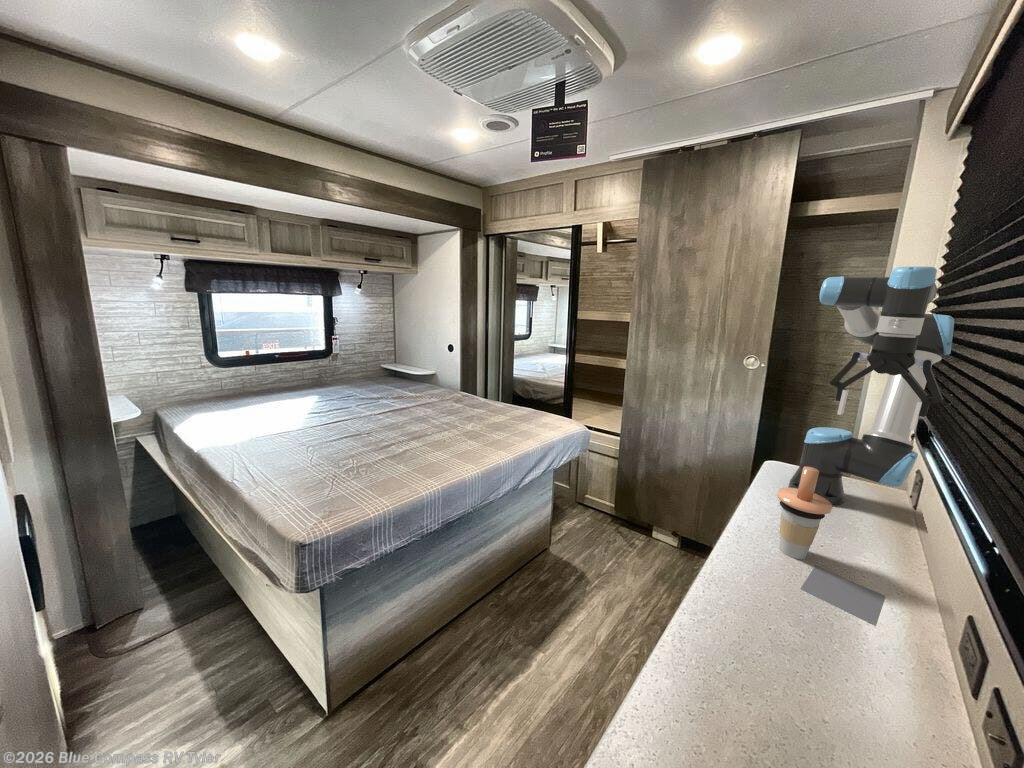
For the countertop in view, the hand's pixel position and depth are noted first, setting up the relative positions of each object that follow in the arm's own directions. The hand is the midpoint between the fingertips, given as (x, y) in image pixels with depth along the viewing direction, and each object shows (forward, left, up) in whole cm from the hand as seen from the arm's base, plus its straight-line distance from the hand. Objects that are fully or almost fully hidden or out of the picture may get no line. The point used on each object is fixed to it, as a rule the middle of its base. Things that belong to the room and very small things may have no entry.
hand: (874, 421), depth 99 cm
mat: (+21, +4, -36) cm, 42 cm away
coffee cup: (+13, -8, -36) cm, 40 cm away
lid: (+14, -8, -21) cm, 26 cm away
